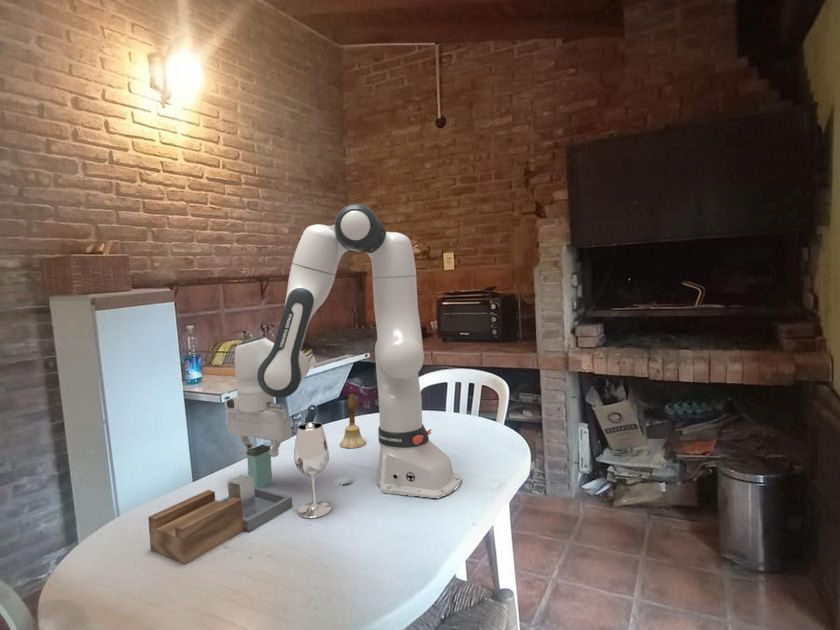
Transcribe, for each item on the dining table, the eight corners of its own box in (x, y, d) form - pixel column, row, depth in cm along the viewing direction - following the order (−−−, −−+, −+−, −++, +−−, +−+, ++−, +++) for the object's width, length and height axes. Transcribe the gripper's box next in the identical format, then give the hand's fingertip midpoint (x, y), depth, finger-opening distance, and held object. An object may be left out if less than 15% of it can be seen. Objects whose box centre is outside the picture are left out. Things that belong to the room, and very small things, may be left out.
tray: (292, 506, 120) (291, 496, 120) (248, 532, 109) (247, 521, 109) (251, 495, 127) (250, 485, 127) (205, 518, 116) (205, 507, 116)
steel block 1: (254, 494, 117) (253, 477, 117) (240, 502, 114) (239, 484, 113) (242, 491, 119) (241, 474, 119) (228, 498, 116) (227, 481, 115)
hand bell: (352, 438, 168) (350, 390, 167) (371, 442, 164) (369, 393, 162) (334, 445, 162) (331, 396, 160) (353, 450, 157) (351, 399, 155)
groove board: (243, 530, 110) (241, 499, 109) (185, 564, 98) (182, 529, 97) (210, 519, 116) (208, 489, 115) (150, 549, 104) (147, 516, 103)
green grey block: (264, 481, 136) (262, 444, 135) (272, 483, 134) (270, 446, 133) (249, 488, 131) (246, 451, 130) (257, 491, 130) (255, 452, 129)
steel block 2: (241, 519, 114) (255, 511, 117) (240, 502, 113) (254, 495, 117) (229, 515, 116) (243, 508, 119) (228, 498, 116) (242, 491, 119)
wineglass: (302, 522, 113) (297, 433, 111) (293, 508, 120) (288, 424, 118) (336, 513, 117) (331, 427, 115) (326, 500, 123) (321, 419, 122)
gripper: (295, 401, 128) (299, 454, 129) (239, 394, 139) (244, 444, 140) (276, 408, 123) (281, 463, 124) (219, 400, 133) (224, 452, 134)
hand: (261, 453), depth 132 cm, fingers open, 8 cm apart
